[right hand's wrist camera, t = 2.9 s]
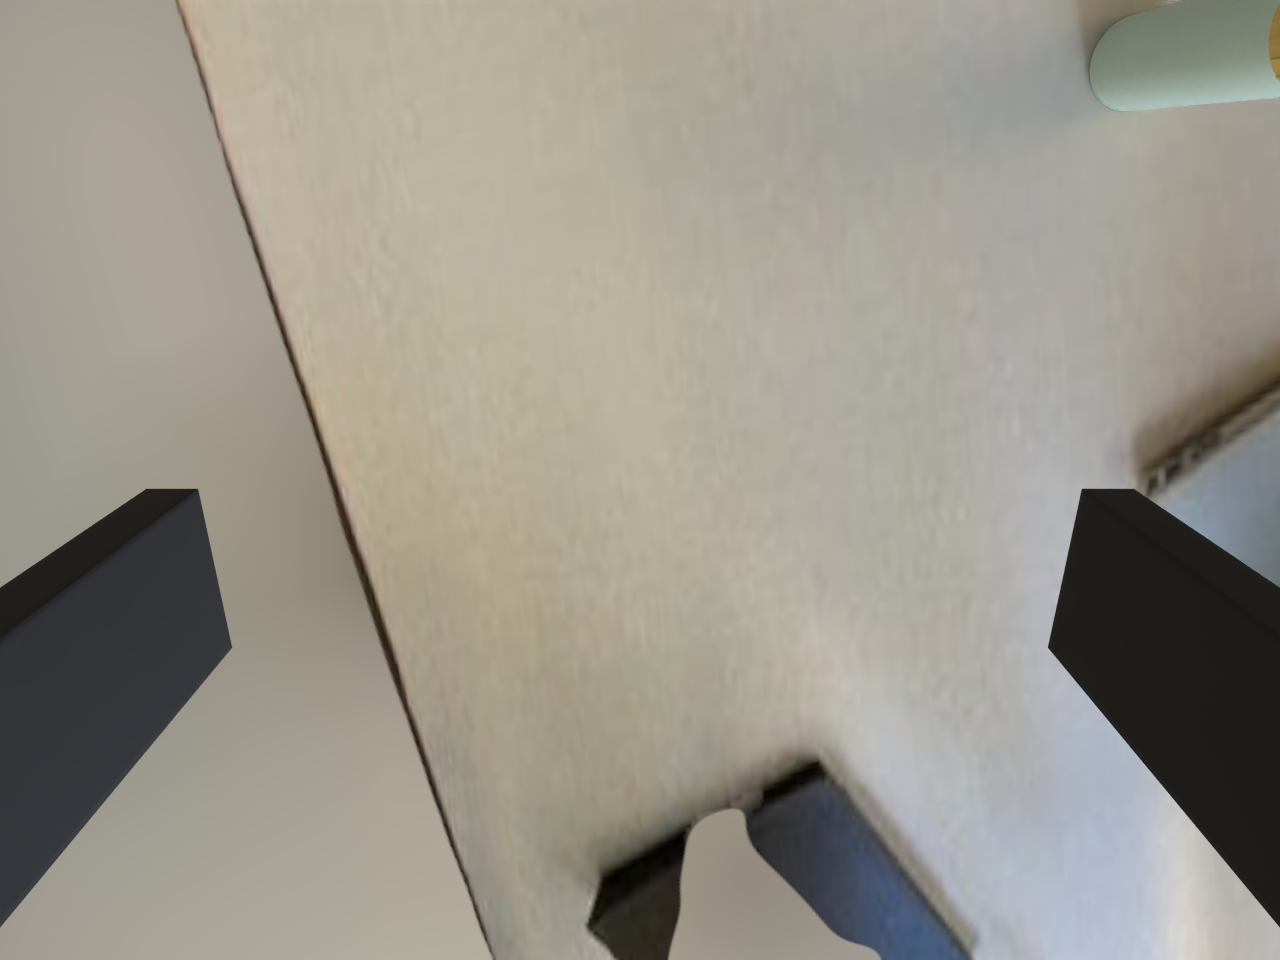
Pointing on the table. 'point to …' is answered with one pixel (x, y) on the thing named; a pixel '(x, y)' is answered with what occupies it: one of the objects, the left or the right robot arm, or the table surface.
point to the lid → (1275, 43)
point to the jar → (1186, 56)
